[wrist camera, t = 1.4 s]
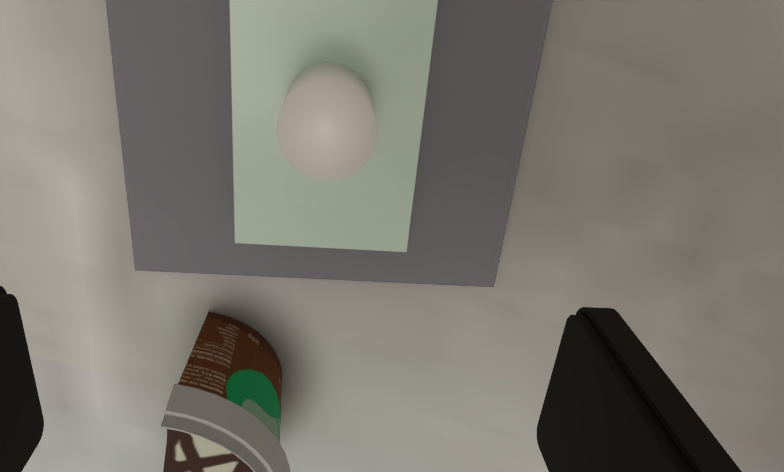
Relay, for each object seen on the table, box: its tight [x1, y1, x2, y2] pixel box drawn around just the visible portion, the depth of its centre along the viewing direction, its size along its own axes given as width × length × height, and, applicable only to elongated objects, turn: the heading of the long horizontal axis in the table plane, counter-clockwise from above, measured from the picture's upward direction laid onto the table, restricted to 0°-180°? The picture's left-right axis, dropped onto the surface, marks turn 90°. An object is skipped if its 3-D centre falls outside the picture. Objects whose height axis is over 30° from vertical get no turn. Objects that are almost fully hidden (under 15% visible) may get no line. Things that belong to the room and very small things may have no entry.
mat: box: [106, 0, 552, 287], centre depth 28 cm, size 20×20×1 cm
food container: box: [161, 312, 290, 472], centre depth 31 cm, size 12×6×10 cm, turn 166°
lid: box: [230, 0, 438, 252], centre depth 25 cm, size 9×15×6 cm, turn 174°
